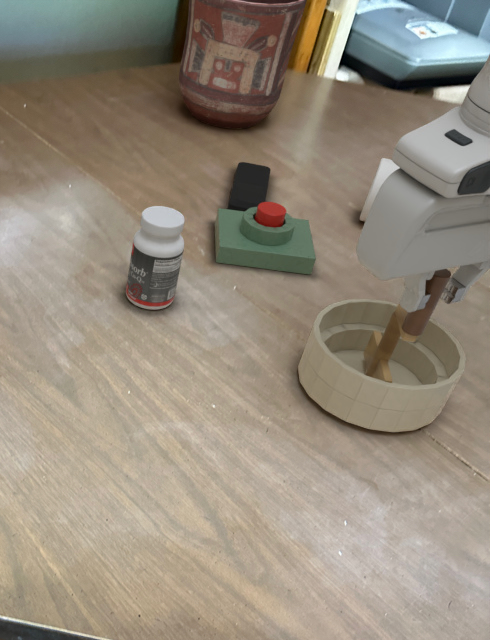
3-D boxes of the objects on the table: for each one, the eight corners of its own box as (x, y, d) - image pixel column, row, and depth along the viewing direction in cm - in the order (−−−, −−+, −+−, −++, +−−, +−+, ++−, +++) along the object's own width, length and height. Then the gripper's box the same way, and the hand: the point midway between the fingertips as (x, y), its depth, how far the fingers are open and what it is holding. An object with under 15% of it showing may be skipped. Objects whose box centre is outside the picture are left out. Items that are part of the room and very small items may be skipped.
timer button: (281, 216, 98) (285, 203, 97) (283, 230, 96) (287, 217, 94) (253, 213, 98) (257, 199, 97) (255, 227, 96) (258, 213, 94)
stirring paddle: (357, 353, 84) (412, 224, 73) (375, 355, 84) (433, 227, 73) (368, 407, 78) (430, 275, 67) (388, 410, 78) (453, 279, 67)
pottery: (159, 92, 132) (178, -35, 118) (255, 95, 135) (284, -29, 121) (186, 137, 121) (210, 2, 107) (290, 138, 124) (327, 7, 110)
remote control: (235, 172, 115) (225, 214, 105) (238, 160, 114) (229, 201, 103) (268, 178, 115) (261, 221, 104) (271, 166, 113) (265, 208, 103)
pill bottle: (117, 287, 91) (128, 205, 83) (161, 281, 92) (175, 200, 85) (136, 314, 87) (150, 231, 80) (181, 308, 89) (198, 226, 82)
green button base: (303, 235, 103) (312, 206, 100) (310, 274, 96) (320, 245, 93) (214, 223, 103) (221, 194, 100) (215, 262, 96) (222, 232, 93)
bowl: (424, 355, 87) (447, 308, 83) (453, 445, 77) (481, 398, 73) (291, 337, 87) (307, 290, 83) (303, 425, 77) (322, 377, 73)
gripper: (567, 120, 65) (487, 269, 75) (381, 140, 58) (321, 302, 68) (628, 152, 61) (535, 304, 72) (437, 178, 55) (365, 342, 65)
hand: (429, 303), depth 70 cm, fingers open, 3 cm apart
